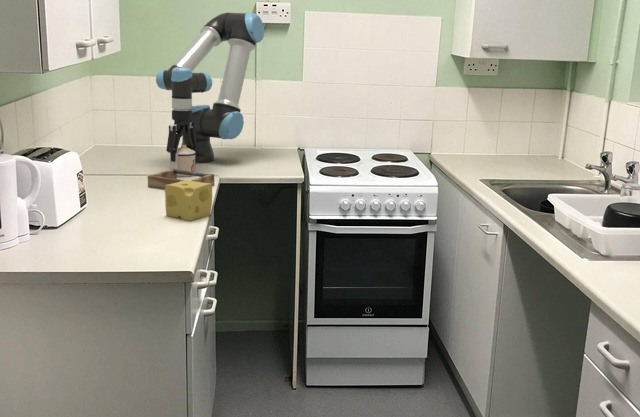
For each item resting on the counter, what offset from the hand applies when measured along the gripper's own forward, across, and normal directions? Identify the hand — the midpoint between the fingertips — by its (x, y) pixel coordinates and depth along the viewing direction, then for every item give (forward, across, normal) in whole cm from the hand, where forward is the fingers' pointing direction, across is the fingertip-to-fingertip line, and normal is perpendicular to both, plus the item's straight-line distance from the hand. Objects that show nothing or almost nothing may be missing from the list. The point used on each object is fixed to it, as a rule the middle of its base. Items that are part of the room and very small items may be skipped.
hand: (182, 167), depth 270 cm
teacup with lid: (+3, -1, 0) cm, 3 cm away
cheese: (+4, +47, +35) cm, 59 cm away
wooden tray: (+3, +16, +11) cm, 20 cm away
